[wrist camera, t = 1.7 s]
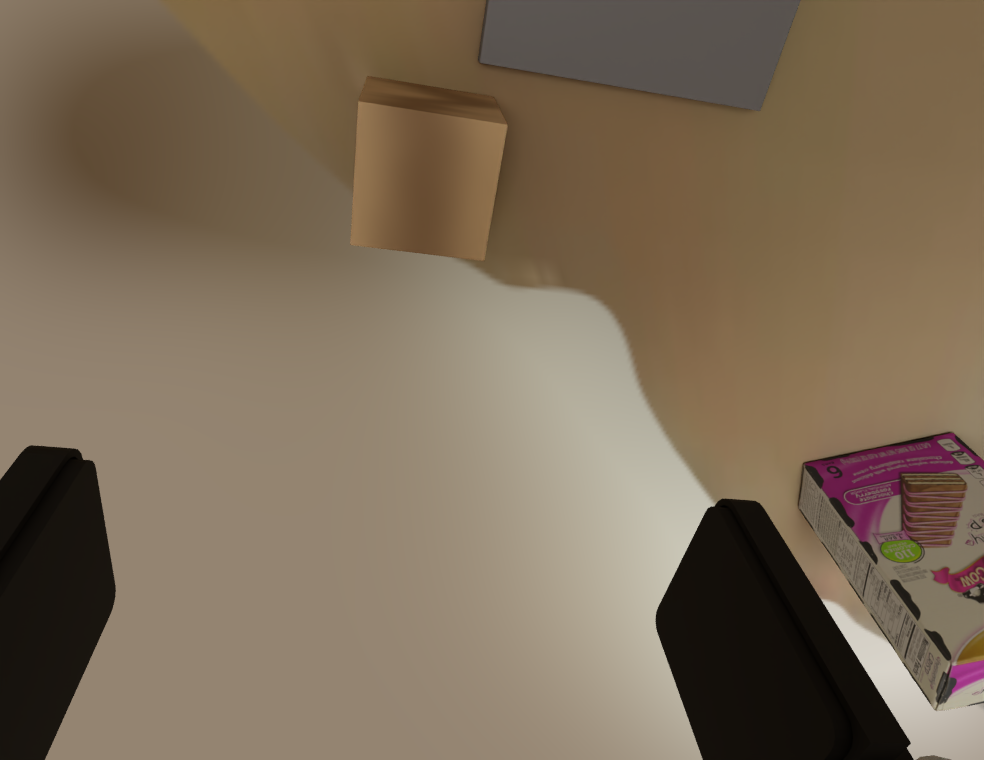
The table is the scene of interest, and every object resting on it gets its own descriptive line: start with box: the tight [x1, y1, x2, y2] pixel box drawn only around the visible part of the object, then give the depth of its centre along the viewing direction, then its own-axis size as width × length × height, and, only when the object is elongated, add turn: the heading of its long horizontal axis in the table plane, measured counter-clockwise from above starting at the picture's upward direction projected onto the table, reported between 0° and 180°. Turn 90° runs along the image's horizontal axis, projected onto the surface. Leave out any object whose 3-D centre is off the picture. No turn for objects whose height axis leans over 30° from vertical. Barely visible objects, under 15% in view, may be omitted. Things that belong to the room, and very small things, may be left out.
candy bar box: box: [799, 433, 984, 711], centre depth 42 cm, size 11×5×16 cm, turn 101°
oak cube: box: [350, 76, 508, 261], centre depth 30 cm, size 6×6×6 cm
